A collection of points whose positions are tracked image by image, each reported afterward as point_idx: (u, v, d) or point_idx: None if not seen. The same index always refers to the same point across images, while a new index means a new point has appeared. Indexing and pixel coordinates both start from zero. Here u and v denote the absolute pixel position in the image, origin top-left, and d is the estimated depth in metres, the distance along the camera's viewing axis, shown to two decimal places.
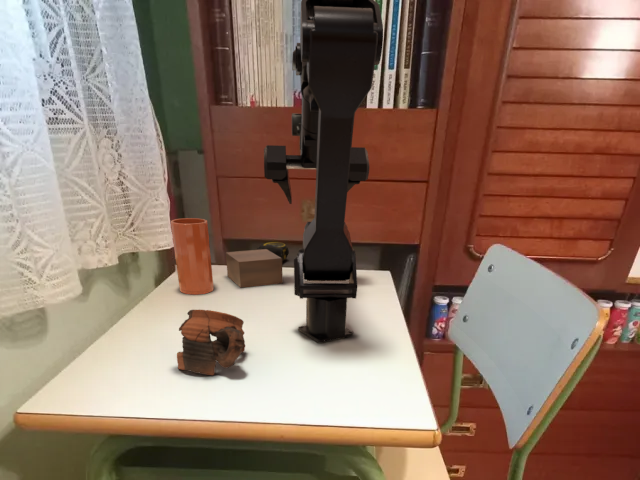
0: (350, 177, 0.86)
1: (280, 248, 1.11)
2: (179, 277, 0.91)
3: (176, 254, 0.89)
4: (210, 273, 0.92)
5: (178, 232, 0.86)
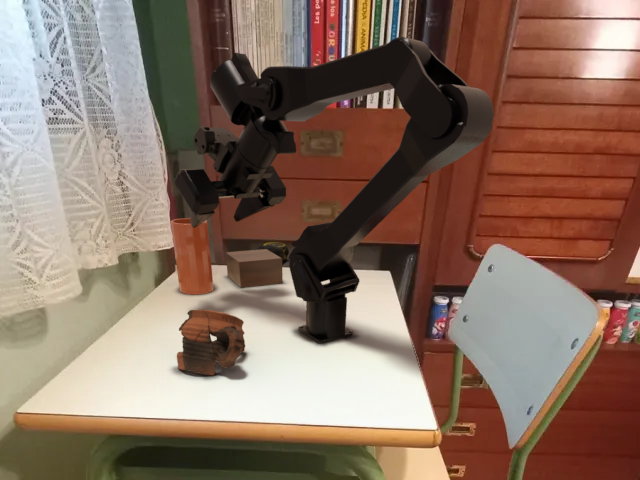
0: (270, 202, 0.81)
1: (280, 248, 1.11)
2: (179, 277, 0.91)
3: (176, 254, 0.89)
4: (210, 273, 0.92)
5: (178, 232, 0.86)
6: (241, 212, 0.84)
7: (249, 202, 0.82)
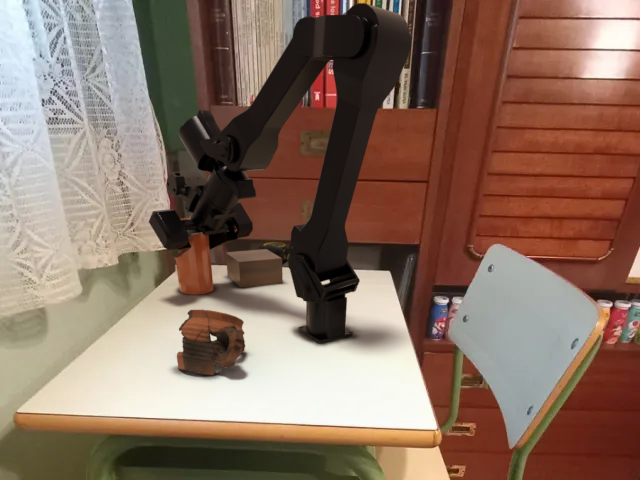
0: (238, 235, 0.89)
1: (280, 248, 1.11)
2: (179, 277, 0.91)
3: None
4: (210, 273, 0.92)
5: None
6: None
7: (214, 236, 0.90)
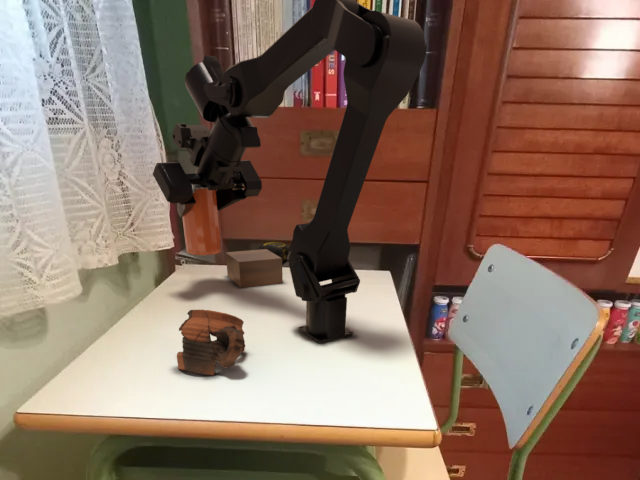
0: (246, 194, 0.86)
1: (280, 248, 1.11)
2: (185, 237, 0.89)
3: None
4: (217, 234, 0.89)
5: None
6: None
7: (223, 195, 0.88)
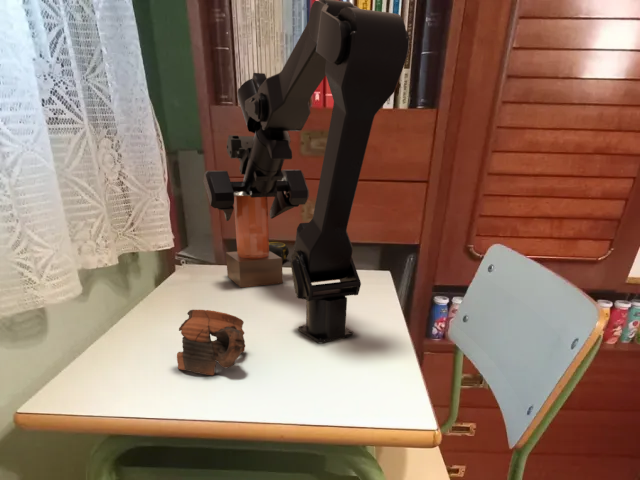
0: (292, 202, 0.90)
1: (280, 248, 1.11)
2: None
3: (235, 218, 0.94)
4: (264, 239, 0.95)
5: None
6: (273, 210, 0.95)
7: (279, 202, 0.93)
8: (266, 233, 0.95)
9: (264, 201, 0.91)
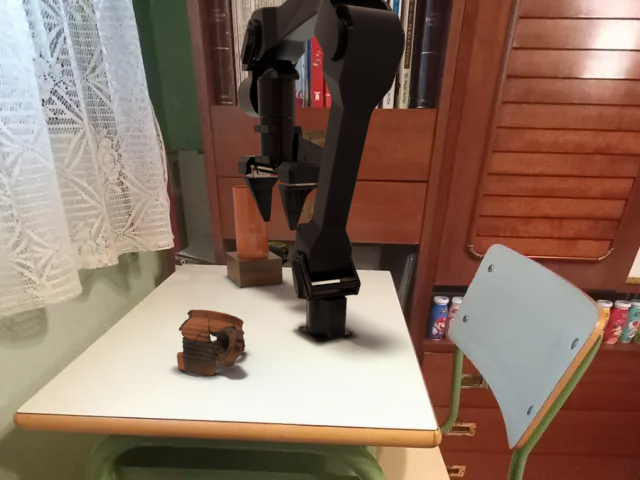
0: (279, 177, 0.72)
1: (280, 248, 1.11)
2: (236, 241, 0.96)
3: None
4: (264, 239, 0.95)
5: (235, 196, 0.90)
6: None
7: None
8: (266, 233, 0.95)
9: None
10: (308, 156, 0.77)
